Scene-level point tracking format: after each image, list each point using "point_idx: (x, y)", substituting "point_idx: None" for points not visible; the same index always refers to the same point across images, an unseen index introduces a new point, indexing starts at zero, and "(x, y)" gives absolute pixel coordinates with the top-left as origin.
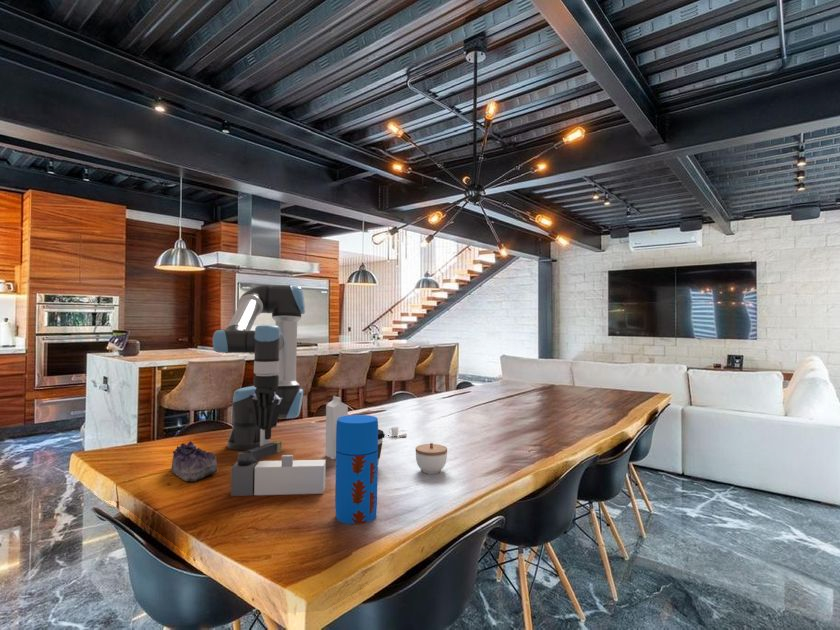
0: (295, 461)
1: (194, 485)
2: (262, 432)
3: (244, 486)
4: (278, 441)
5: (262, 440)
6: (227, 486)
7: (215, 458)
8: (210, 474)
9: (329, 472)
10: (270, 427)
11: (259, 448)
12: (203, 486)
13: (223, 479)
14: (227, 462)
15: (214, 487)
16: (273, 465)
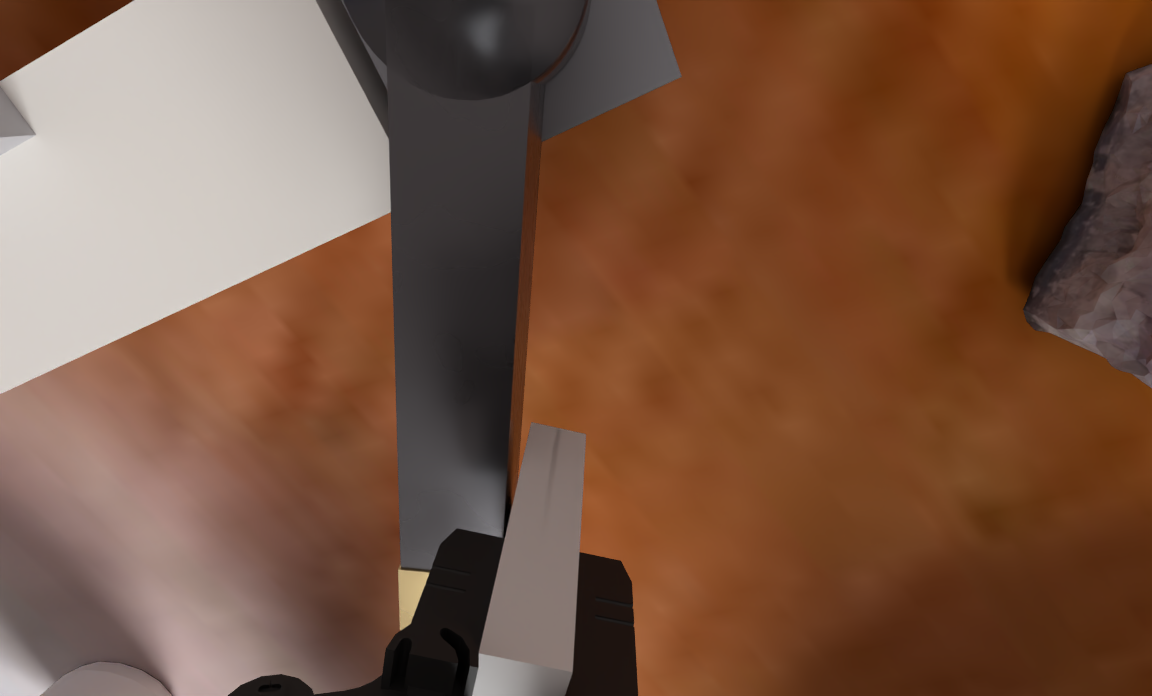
0: (48, 321)
1: (1081, 9)
2: (515, 606)
3: None
4: None
5: (526, 503)
6: (759, 98)
7: (1140, 368)
8: (1053, 253)
9: (252, 569)
10: (239, 693)
11: (436, 294)
12: (978, 17)
13: (890, 233)
14: (1060, 548)
15: (860, 32)
16: (125, 93)
